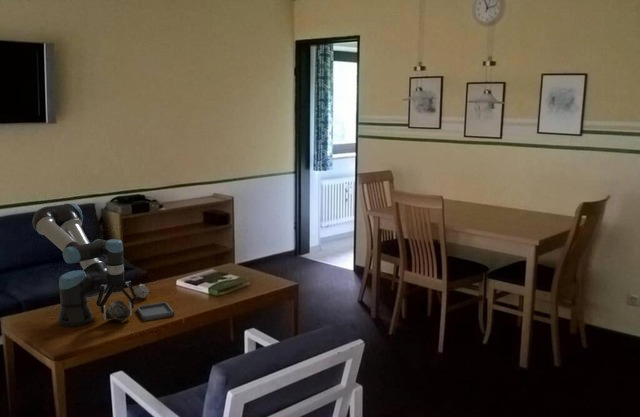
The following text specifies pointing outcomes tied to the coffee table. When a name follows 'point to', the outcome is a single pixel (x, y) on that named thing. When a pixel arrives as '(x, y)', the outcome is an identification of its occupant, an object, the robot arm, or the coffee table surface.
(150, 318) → the tray
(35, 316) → the coffee table surface
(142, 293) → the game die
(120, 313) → the fossil
